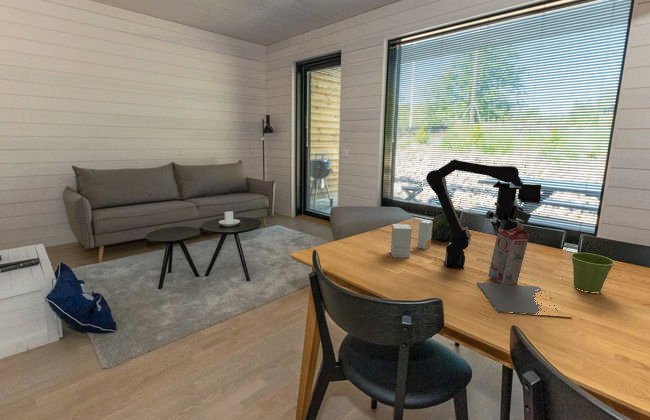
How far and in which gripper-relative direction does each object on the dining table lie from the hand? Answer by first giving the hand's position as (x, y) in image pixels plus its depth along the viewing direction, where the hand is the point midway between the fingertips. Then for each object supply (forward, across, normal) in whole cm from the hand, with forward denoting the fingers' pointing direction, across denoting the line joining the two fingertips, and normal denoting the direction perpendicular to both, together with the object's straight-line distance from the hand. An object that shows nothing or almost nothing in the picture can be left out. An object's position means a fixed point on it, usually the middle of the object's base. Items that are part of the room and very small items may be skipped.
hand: (500, 242), depth 127 cm
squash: (+12, +43, +10) cm, 46 cm away
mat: (+12, -21, 0) cm, 24 cm away
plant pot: (+12, -10, -26) cm, 30 cm away
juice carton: (+12, -6, 0) cm, 14 cm away
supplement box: (+12, +15, +34) cm, 39 cm away
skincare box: (+12, +28, +22) cm, 37 cm away
